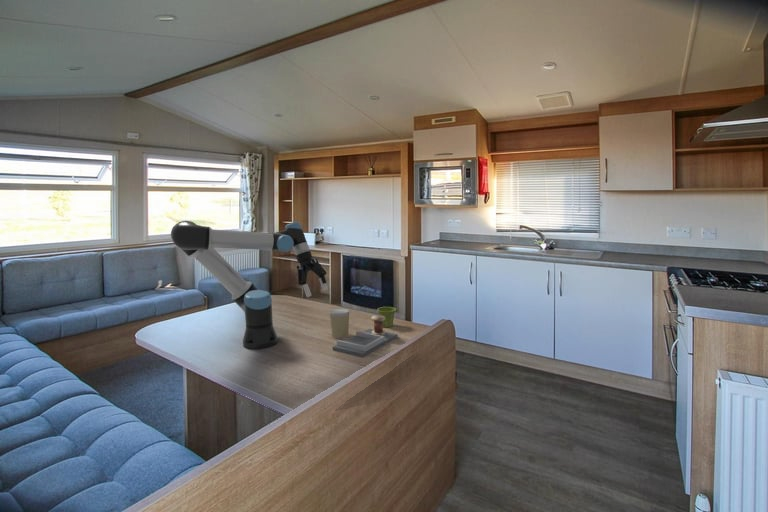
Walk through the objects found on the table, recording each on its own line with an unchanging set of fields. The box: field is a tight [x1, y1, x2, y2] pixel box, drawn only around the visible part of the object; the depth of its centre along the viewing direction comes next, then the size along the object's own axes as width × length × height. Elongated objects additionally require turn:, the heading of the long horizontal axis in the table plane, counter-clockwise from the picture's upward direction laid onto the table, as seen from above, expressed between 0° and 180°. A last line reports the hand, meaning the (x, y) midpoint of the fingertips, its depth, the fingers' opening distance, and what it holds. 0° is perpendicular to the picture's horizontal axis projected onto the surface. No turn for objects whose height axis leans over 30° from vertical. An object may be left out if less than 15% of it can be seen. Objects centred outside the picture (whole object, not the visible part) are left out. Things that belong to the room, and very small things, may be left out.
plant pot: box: [376, 306, 397, 328], centre depth 209 cm, size 9×9×9 cm
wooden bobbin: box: [371, 314, 386, 336], centre depth 192 cm, size 6×6×8 cm
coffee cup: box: [328, 308, 350, 339], centre depth 195 cm, size 9×9×12 cm
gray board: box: [332, 328, 399, 358], centre depth 184 cm, size 28×16×4 cm, turn 147°
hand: (317, 293), depth 201 cm, fingers open, 13 cm apart
